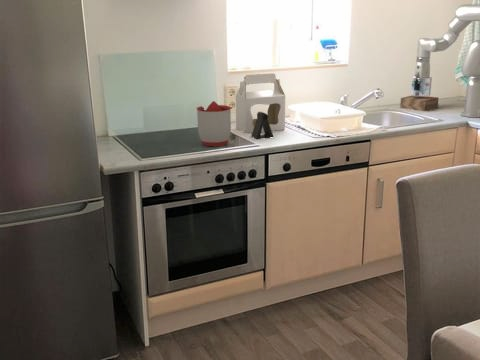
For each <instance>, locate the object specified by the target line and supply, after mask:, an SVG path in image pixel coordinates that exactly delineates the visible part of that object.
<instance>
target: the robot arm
mask: <svg viewBox="0 0 480 360" xmlns="http://www.w3.org/2000/svg"><path fill="white" fill-rule="evenodd" d="M472 22H480V4H479V3H477V4H476V3H475V4H473V3H469V4H461V5H459V6H458V7H457V8H456V10H455V12H454V17H453V18H452V19H451V20H450V21H449V22H448V28H449V29H448V30H447V31H446V33H445V34H444V35H442V36H441V37H437V38H427V37H423V38H419V39H418V40H417V50H416V65H415V70H414V75H413V77H414V83H415V84H414V90H419V89H420V84H419V83H420V80H424V78H428V77H430V76H431V63H430V62H431V54H432V53H437V52H443V51H446V50H448V49H449V48H450V47H451V46H452V45H453V44H454V43H455V42H456V41H457V39H458V37H459V36H460V35H461V33H462V32H463V31H464V30H465V29H466V28H467V27H468V26H469V25H470V24H471V23H472ZM467 48H468V49H467V51H466V54H465V55H464V58H463V60H462V63H461V66H460V67H461V68H460V71H461V74H462V76H464V77H466V78H468V79H467V81H466V88H465V89H466V90H465V99H464V105H463V111H461V112H460V116H462V117H464V118H465V117H467V118H480V39H476V40H474V41H472V42H471V44H470V45H469V46H468V47H467Z"/></svg>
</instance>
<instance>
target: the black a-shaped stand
mask: <svg viewBox="0 0 480 360" xmlns="http://www.w3.org/2000/svg"><path fill="white" fill-rule="evenodd" d="M256 119H257V120H256V123H255V126H254V129H253V133H251V137H252V138H253V137H254V139H255V138H256V140H262V139H261V138H265V139H271V138H270V137H273V138H274V135H273V131H271V128H270V125H269V122H268V113H265V112H262V111H258V112H257V113H256ZM262 127H263V129H264V132H263V133H264V134H261V133H262V132H261V131H262Z"/></svg>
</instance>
